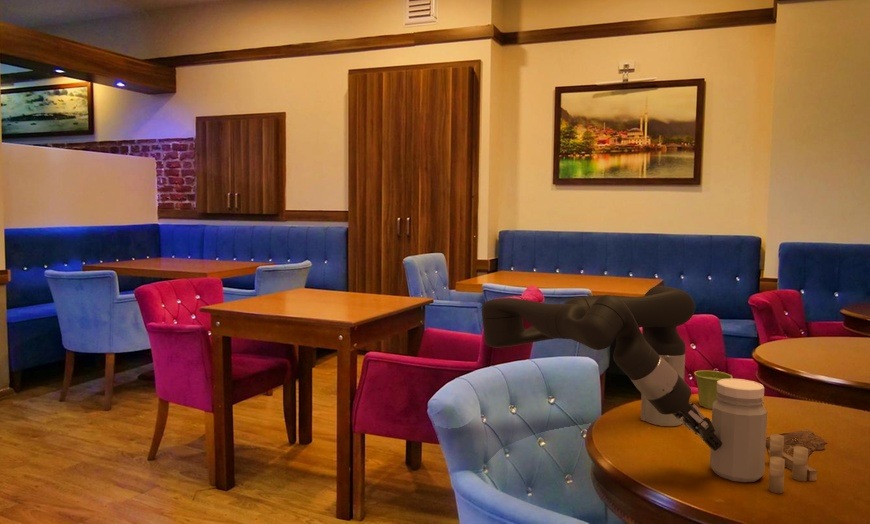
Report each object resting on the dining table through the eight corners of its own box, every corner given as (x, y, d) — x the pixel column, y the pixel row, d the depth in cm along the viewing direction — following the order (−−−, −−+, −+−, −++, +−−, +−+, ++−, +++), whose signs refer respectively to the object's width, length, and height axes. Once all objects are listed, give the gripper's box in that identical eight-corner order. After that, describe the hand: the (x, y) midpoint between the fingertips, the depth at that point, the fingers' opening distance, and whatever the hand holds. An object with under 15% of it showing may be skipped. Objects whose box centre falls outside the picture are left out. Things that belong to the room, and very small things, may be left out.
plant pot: (731, 404, 172) (732, 372, 171) (731, 413, 163) (732, 380, 163) (693, 399, 176) (695, 368, 175) (692, 409, 167) (693, 376, 167)
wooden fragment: (800, 467, 129) (801, 462, 129) (745, 452, 137) (745, 447, 137) (840, 439, 146) (841, 434, 146) (789, 427, 154) (789, 423, 154)
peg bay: (774, 493, 116) (775, 461, 116) (717, 456, 134) (718, 428, 134) (833, 490, 117) (835, 459, 117) (769, 453, 136) (770, 426, 135)
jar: (740, 487, 118) (745, 392, 117) (698, 468, 127) (701, 380, 126) (775, 478, 123) (780, 386, 121) (732, 461, 131) (735, 375, 130)
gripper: (631, 388, 127) (686, 447, 129) (661, 407, 114) (722, 473, 116) (657, 362, 127) (712, 422, 129) (691, 378, 114) (751, 444, 116)
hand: (717, 446), depth 123 cm, fingers closed
